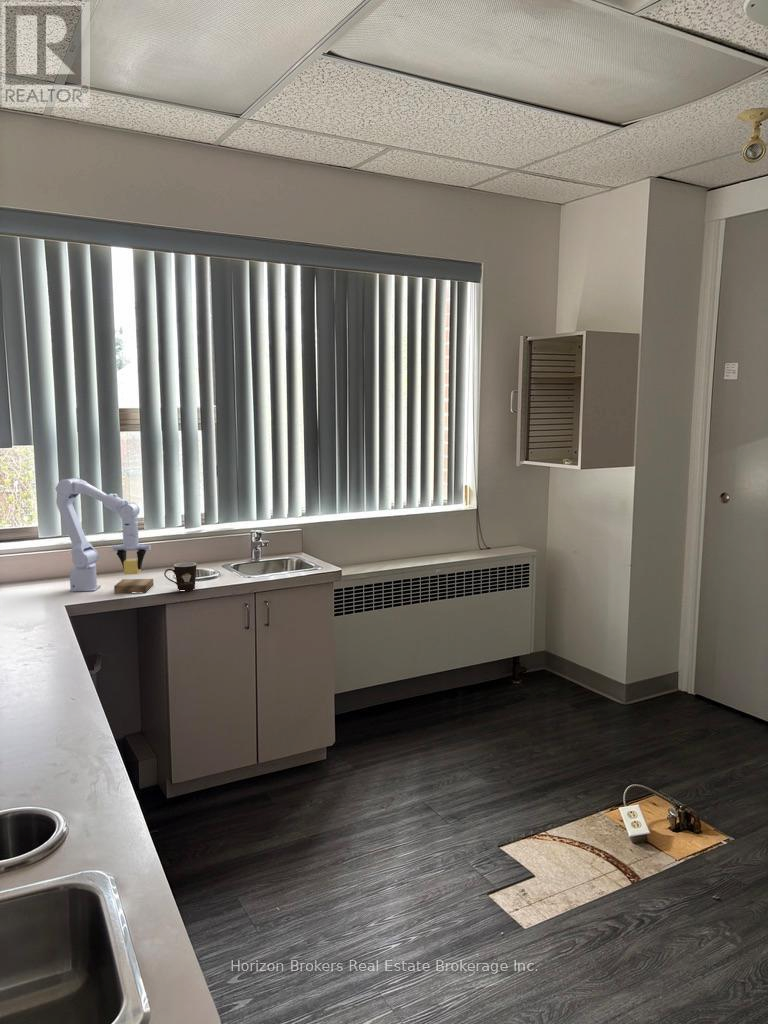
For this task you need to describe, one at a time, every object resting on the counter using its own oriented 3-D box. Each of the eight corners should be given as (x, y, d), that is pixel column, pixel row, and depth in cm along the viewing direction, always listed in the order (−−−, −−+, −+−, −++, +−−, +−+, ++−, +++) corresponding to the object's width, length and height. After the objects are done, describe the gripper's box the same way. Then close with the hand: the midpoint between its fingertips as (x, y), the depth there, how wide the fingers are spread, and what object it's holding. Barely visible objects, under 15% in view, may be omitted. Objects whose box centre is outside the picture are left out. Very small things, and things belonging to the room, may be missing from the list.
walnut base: (114, 593, 296) (114, 586, 296) (123, 586, 308) (122, 579, 308) (146, 592, 297) (145, 585, 297) (153, 586, 309) (153, 578, 309)
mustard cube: (124, 574, 299) (123, 561, 298) (127, 571, 304) (127, 559, 303) (137, 574, 299) (136, 561, 298) (140, 571, 304) (140, 558, 303)
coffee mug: (200, 587, 305) (199, 562, 304) (193, 592, 297) (192, 566, 296) (172, 587, 307) (171, 562, 305) (164, 592, 298) (162, 566, 297)
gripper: (108, 536, 295) (110, 571, 297) (147, 535, 296) (148, 570, 298) (113, 533, 302) (115, 567, 304) (151, 532, 303) (153, 566, 305)
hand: (132, 568), depth 301 cm, fingers closed on mustard cube, 5 cm apart
